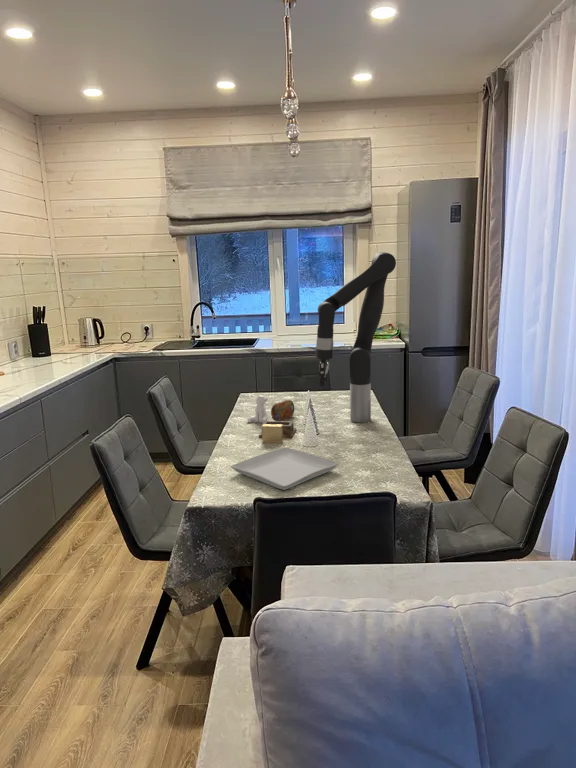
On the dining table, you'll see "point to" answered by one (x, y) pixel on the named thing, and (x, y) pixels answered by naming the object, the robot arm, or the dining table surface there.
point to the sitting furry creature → (259, 411)
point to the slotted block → (287, 428)
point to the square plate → (285, 467)
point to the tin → (282, 410)
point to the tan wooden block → (272, 433)
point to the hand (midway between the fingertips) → (323, 383)
